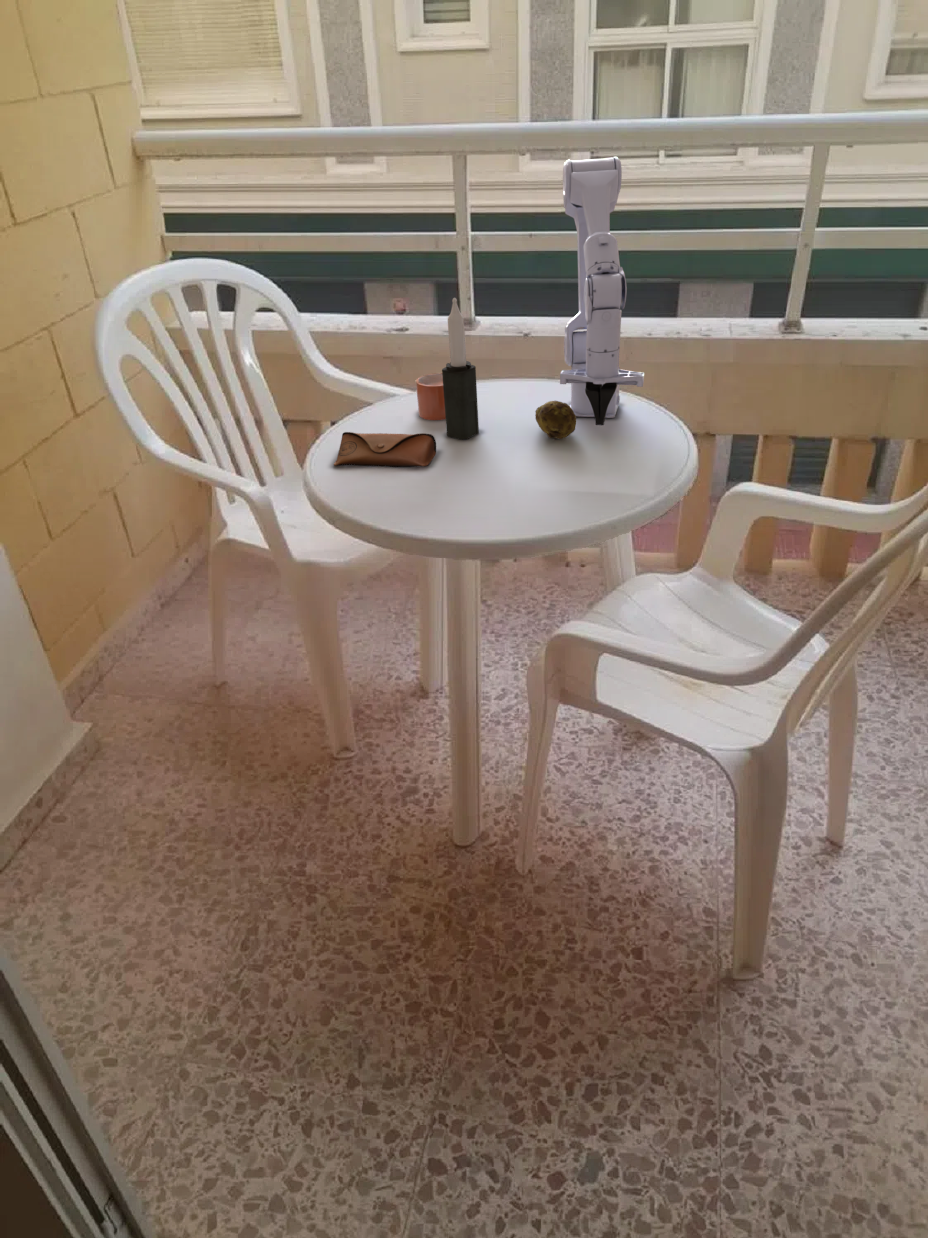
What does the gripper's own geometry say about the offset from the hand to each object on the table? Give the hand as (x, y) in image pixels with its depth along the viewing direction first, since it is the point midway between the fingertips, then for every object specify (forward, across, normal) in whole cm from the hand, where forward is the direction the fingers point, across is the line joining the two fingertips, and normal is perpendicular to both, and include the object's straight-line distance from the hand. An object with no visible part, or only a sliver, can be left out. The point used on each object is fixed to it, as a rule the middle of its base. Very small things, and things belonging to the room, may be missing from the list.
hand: (600, 423), depth 149 cm
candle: (+4, -26, 0) cm, 26 cm away
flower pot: (+3, -34, +10) cm, 36 cm away
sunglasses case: (+4, -37, -13) cm, 40 cm away
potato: (+4, -8, 0) cm, 9 cm away
